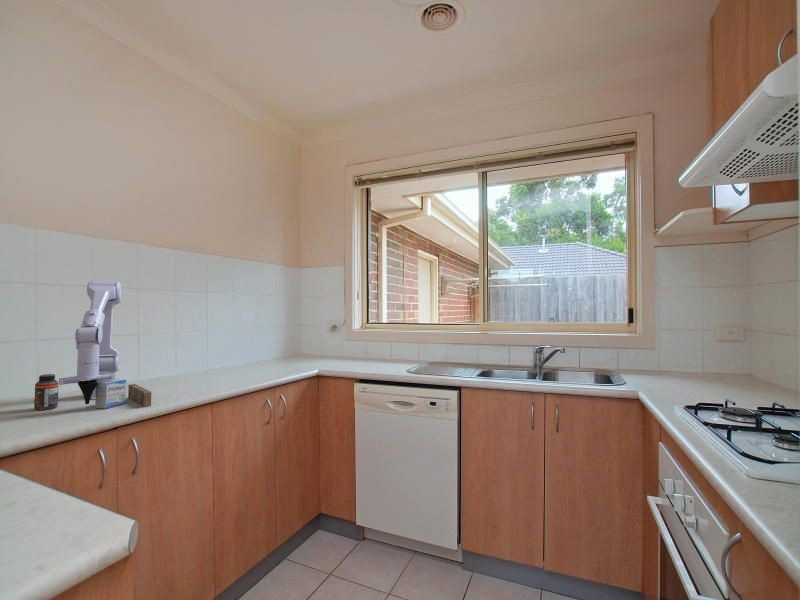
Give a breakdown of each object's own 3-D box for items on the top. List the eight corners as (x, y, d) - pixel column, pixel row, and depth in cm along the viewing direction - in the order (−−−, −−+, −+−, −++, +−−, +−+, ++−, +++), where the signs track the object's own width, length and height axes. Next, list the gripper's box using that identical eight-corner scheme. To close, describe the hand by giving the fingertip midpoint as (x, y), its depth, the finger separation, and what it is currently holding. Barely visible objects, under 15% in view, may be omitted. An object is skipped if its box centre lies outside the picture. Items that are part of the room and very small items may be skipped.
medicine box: (105, 409, 131) (106, 383, 132) (94, 408, 132) (95, 382, 133) (126, 403, 139) (127, 379, 139) (115, 403, 140) (116, 378, 140)
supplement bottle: (29, 409, 130) (30, 375, 130) (51, 405, 135) (52, 372, 136) (40, 411, 128) (41, 377, 128) (61, 407, 133) (62, 374, 133)
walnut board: (128, 397, 148) (128, 384, 148) (134, 397, 149) (134, 383, 150) (144, 407, 135) (144, 392, 135) (151, 406, 136) (151, 391, 136)
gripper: (61, 366, 123) (60, 409, 123) (117, 361, 134) (116, 401, 134) (58, 363, 128) (57, 405, 128) (112, 360, 139) (111, 398, 138)
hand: (87, 403), depth 131 cm, fingers closed
